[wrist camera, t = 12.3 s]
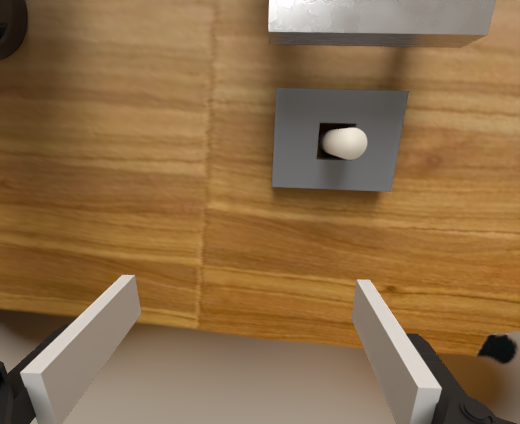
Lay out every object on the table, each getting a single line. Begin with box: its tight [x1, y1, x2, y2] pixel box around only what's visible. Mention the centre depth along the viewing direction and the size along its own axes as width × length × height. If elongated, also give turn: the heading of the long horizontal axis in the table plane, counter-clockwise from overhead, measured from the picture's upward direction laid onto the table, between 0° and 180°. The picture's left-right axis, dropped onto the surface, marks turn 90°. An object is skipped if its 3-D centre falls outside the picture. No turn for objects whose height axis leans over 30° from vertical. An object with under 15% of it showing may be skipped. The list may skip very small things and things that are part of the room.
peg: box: [319, 128, 367, 160], centre depth 36 cm, size 4×4×12 cm
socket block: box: [272, 88, 409, 192], centre depth 39 cm, size 18×14×4 cm
